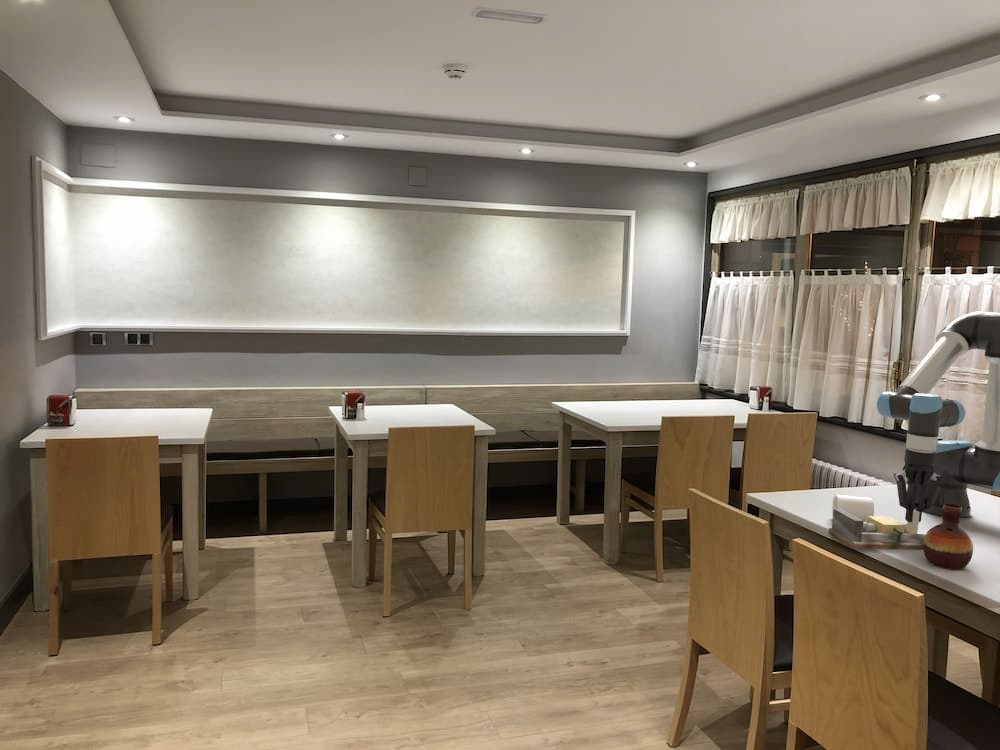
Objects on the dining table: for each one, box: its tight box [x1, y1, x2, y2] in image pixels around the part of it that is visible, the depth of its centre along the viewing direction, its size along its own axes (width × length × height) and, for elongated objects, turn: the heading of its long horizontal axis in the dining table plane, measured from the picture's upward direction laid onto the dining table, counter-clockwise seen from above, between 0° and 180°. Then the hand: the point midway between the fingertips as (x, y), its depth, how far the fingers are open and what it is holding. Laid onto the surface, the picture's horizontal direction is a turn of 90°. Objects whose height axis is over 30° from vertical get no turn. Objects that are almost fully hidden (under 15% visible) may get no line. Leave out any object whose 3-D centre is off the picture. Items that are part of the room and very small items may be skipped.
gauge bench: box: [828, 509, 926, 551], centre depth 215 cm, size 24×14×7 cm, turn 95°
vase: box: [922, 504, 974, 571], centre depth 197 cm, size 11×11×15 cm
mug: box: [831, 494, 875, 522], centre depth 234 cm, size 12×10×8 cm
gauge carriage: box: [863, 515, 905, 543], centre depth 213 cm, size 9×11×4 cm
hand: (911, 532), depth 216 cm, fingers closed
